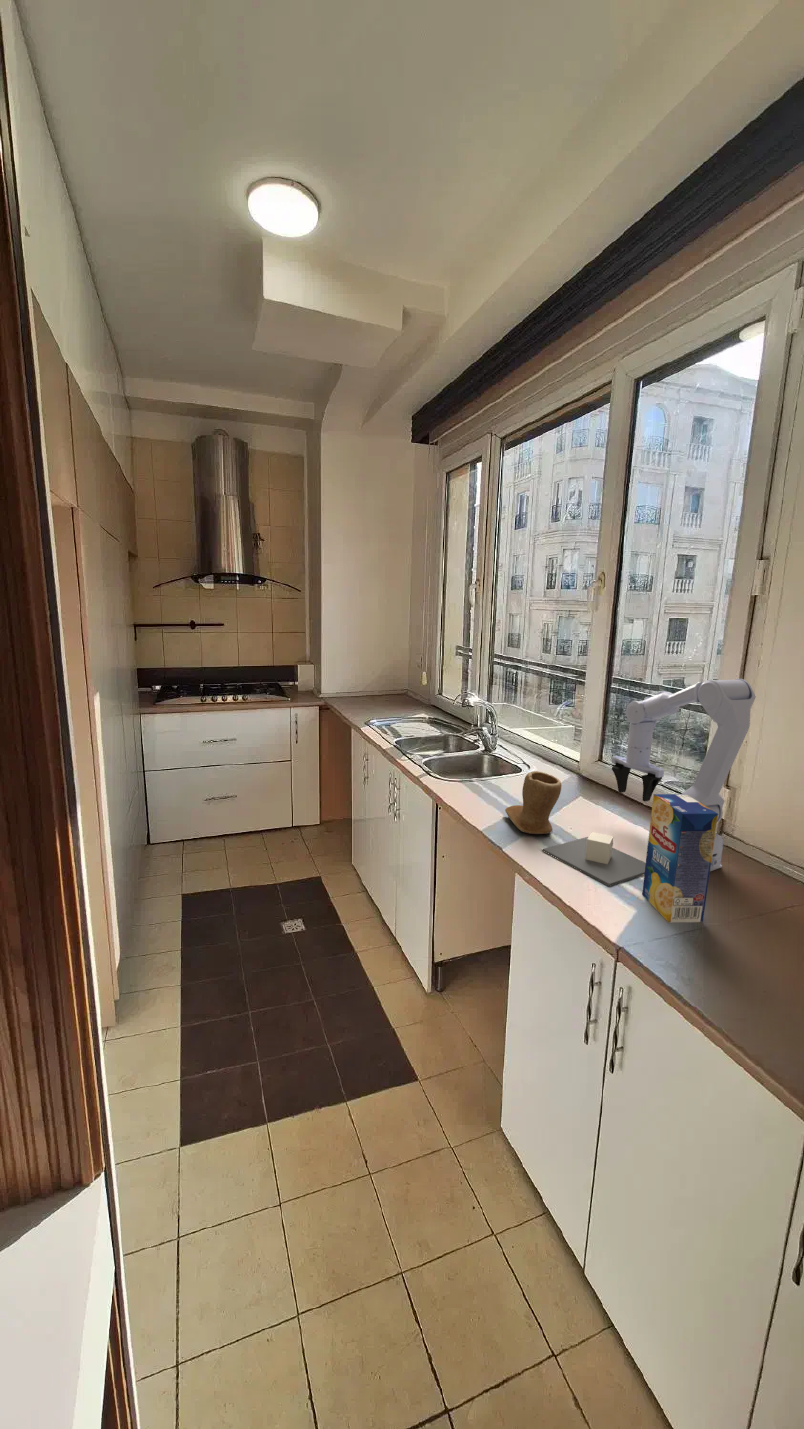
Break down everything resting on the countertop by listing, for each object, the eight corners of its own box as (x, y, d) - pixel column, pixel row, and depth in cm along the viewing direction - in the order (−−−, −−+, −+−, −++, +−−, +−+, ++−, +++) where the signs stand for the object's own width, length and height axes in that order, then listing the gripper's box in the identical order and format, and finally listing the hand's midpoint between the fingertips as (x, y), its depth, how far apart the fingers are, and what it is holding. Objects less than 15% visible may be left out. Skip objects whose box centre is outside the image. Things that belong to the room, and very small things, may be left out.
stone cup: (564, 837, 151) (568, 781, 148) (518, 838, 150) (522, 782, 147) (545, 815, 166) (549, 764, 163) (503, 816, 165) (507, 764, 162)
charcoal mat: (656, 870, 134) (657, 867, 134) (609, 886, 126) (609, 883, 126) (588, 838, 151) (588, 836, 150) (542, 851, 142) (542, 848, 142)
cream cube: (611, 856, 139) (613, 836, 138) (607, 864, 135) (609, 844, 134) (589, 851, 142) (591, 832, 141) (585, 859, 137) (587, 839, 136)
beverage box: (673, 893, 123) (686, 794, 119) (703, 922, 113) (718, 813, 108) (641, 894, 123) (653, 794, 118) (668, 922, 112) (682, 813, 108)
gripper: (673, 751, 149) (667, 802, 151) (626, 738, 161) (621, 786, 164) (656, 754, 145) (650, 806, 148) (608, 741, 157) (604, 789, 160)
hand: (633, 796), depth 156 cm, fingers open, 7 cm apart
